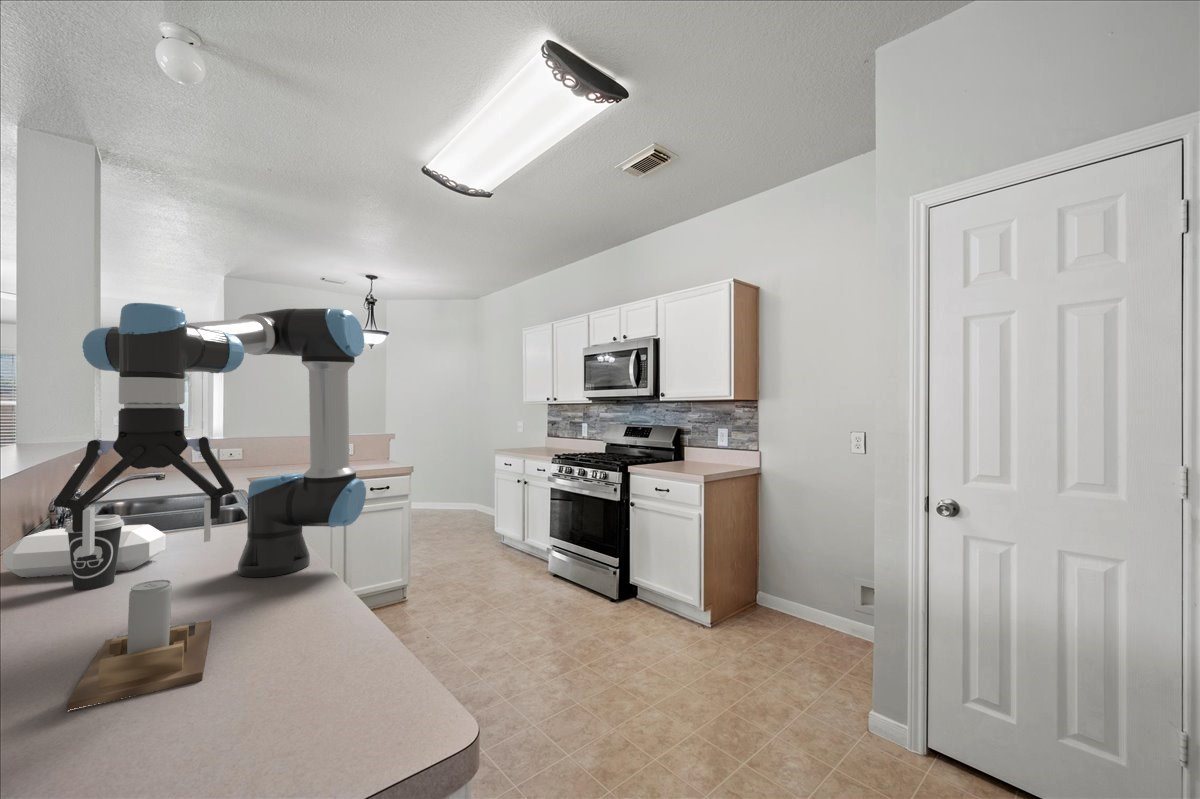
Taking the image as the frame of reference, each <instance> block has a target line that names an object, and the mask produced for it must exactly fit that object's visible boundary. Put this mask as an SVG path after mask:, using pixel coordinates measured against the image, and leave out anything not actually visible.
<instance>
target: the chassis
mask: <svg viewBox="0 0 1200 799" xmlns="http://www.w3.org/2000/svg"><path fill="white" fill-rule="evenodd" d="M211 630H212V620H207V621H201V622H195V621H194V622H188V623H184V624H179V625H173V626H170V635H169V646H165V647H160V648H155V649H150V650H145V651H140V652H135V653H130V654H127V642H128V634H124V635H117V636H116V637H114V638H110V639H105V641H104V642H103V644H102V646H101V647H100V649H99V650H98V652H97V654H96V655H95V657H94V658H93V660H92V661H91V663H90V665H89V667H88V669H87V670H86V672H85V673H84V675H83V676H82V678H81V680H80V681H79V683H78V685H77V686H76V688H75V690H74V691H73V693H72V695H71V696H70V698H68V701H67V702H66V703H67V704H66V711H67V710H70V709H74V708H79V707H83V706H88V705H94V704H98V703H104V702H108V703H111V702H110V701H112V702H115V701H114V700H117V701H119V700H118V699H121V698H125V697H129V696H134V695H138V696H142V695H145V694H150V693H154V691H155V692H158V691H163V690H167V689H171V688H176V687H180V686H184V685H188V684H192V683H193V684H194V683H196V682H201V681H203V678H204V671H205V667H206V666H205V665H206V661H207V660H206V659H207V654H208V648H209V642H210V636H211ZM141 694H142V695H141ZM134 697H135V696H134ZM129 698H130V697H129ZM125 699H126V698H125ZM121 700H122V699H121ZM104 704H105V703H104Z"/></svg>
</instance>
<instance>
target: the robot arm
mask: <svg viewBox="0 0 1200 799" xmlns="http://www.w3.org/2000/svg"><path fill="white" fill-rule="evenodd" d="M364 347H365V335H364V331H363V328H362V325H361V323H360V321H359V320H358V317H357V316H356V315H355V314H354V313H353V312H351V311H350V310H347V309H344V308H343V309H342V308H333V307H332V308H331V307H327V308H283V309H276V310H269V311H264V312H258V313H247V314H244V315H242V316H240V317H239V318H236V319H226V320H211V321H210V320H209V321H195V322H188V321H187V320H186V313H185V311H184V310H183V309H182V308H179V307H177V306H174V305H167V304H162V303H161V304H160V303H150V302H132V303H126V304H125V305H123V306H122V307H121V310H120V317H119V326H109V327H99V328H95V329H93V330H90V331H89V332H87V334H86V335H85V337H84V339H83V341H82V352H83V356H84V358H85V359H86V361H87V362H88V364H90V365H91V366H92V367H94V368H95V369H98V370H101V371H106V372H107V371H108V372H115V373H119V377H118V403H119V404H120V405H123V408H120V409H119V410H118V419H117V420H118V424H117V427H118V429H117V431H118V432H117V437H116V440H115V441H111V440H102V439H99V438H95V439H93V440H89V441H88V442H87V444H86V445H87V446H86V451H85V456H84V457H83V459H82V460H81V462H80V463H79V464H78V466H77V467H76V468H75V470H74V472H73V474H72V475H71V476H70V478H69V479H68V481H67V482H65V485H64V486H63V488H62V489H61V491H60V492H59V494H58V495H57V497H56V498H55V499H54V501H53V506H54V507H56V508H66V509H68V510H69V509H70V510H71V512H72V519H71V520H72V530H73V531H74V533H76V532H83V537H82V556H90V555H91V554H92V553H93V552H94V544H95V516H96V515H95V514H96V506H88V505H89V504H90V503H91V502H92V501H94V499H95V498H97V497H98V496H99V495H100V494H101V493H102V492H104V490H106V489H107V487H108V486H110V485H111V484H112V483H113V482H114V481H115V480H116V479H117V478H119V477H120V476H121V475H122V474H123V473H124V472H125V471H126V470H128V469H129V468H130V467H132V468H134V469H136V470H144V469H148V468H155V469H162V468H163V469H164V468H166V467H169V466H171V465H172V466H173V467H174V468H176V469H177V470H178V471H180V472H181V473H182V474H183V475H184V476H185V477H186V478H187V479H189V480H190V481H191V482H193V484H194V485H196V486H197V487H198V488H199V489H200V490H202V491H203V492H204V493H205V494H206V495H207V496H208V497H205V498H204V504H203V508H204V509H203V510H204V512H203V513H204V515H203V516H204V518H203V523H204V524H203V525H204V526H203V542H204V543H207V542H210V541H211V539H212V520H214V519H219V517H220V515H221V498H222V497H223V496H227V495H228V494H229V495H230V494H232V493H233V492H234V489H235V486H234V484H233V483H232V481H231V479H230V478H229V477H228V474H227V473H226V472H225V470H224V469H223V467H222V465H221V464H220V463H219V461H218V459H217V458H216V456H215V454H214V453H213V451H212V449H211V444H210V438H209V437H208V436H205V435H204V436H201V437H199V438H191V439H189V438H188V439H187V437H186V436H185V410H184V408H182V407H181V406H180V405H183V404H185V399H186V398H185V397H186V396H185V394H186V393H185V391H186V390H185V387H186V386H185V384H186V382H185V381H186V380H185V377H186V376H185V373H187V372H188V373H189V372H191V373H192V372H193V373H194V372H195V373H197V372H199V373H200V372H202V373H203V372H204V373H205V372H206V373H210V374H220V373H221V374H224V373H231V372H233V371H235V370H236V369H237V368H239V367H240V366H241V365H242V363H243V361H244V359H245V354H249V355H253V356H262V355H276V356H277V355H279V356H292V357H293V356H295V357H301V364H302V365H303V366H304V367H305V368H306V369H307V370H308V390H309V391H308V392H309V396H308V397H309V449H310V450H309V452H310V453H309V456H310V467H309V469H307V470H306V471H305V472H304V473H302V472H294V473H285V474H278V475H272V476H266V477H261V478H256V479H253V480H252V481H251V482H250V483H249V485H248V489H247V490H248V493H247V497H246V500H247V526H246V527H247V529H246V530H247V535H246V536H247V537H246V538H247V539H246V543H245V545H244V548H243V550H242V553H241V556H240V558H239V561H238V564H237V574H238V576H241V577H246V578H266V577H273V576H275V577H276V576H279V575H280V576H282V575H285V574H290V573H294V572H297V571H300V570H303V569H304V568H306V567H308V566H309V565H310V563H311V560H310V558H311V555H310V551H309V549H308V546H307V544H306V540H305V537H304V536H303V527H329V528H336V527H346V526H350V525H353V524H354V523H355V522H356V520H358V519H359V517H360V515H361V514H362V511H363V510H364V506H365V503H366V502H365V501H366V496H367V487H366V483H364V480H362V479H360V478H357V469H355V468H354V467H353V466H351V465H350V425H349V424H350V423H349V422H350V421H349V420H350V418H349V416H350V415H349V414H350V413H349V412H350V411H349V409H350V408H349V370H350V369H351V368H352V367H353V366H354V365H355V364H356V362H355V361H356V359H355V358H356V357H358V356H360V355H361V354H362V353H363V351H364ZM188 447H191V448H192V449H193V451H194V452H196V453H198V452H199V453H200V455H201V457H202V458H203V460H204V462H205V464H206V465H207V466H208V468H209V470H210V471H211V473H212V474H213V475H214V476H213V477H215V479H216V481H217V482H218V484H219V485H220V487H219V488H218V487H216V486H215V485H214V484H213V483H212V482H211V481H210V480H208V479H207V478H206V477H205V476H204V475H203V474H201V473H200V472H199V471H198V470H197V469H196V468H194V466H192V465H191V464H190V463H189V462H188V460H186V459H185V458H184V457H183V456H181V455H182V453H183V452H184V451H185V450H186V449H187V448H188ZM110 450H114V451H115V453H117V454H118V455H119V456H120V457H121V458H122V459H120V460H119V461H118V462H116V464H115V465H114V466H113V467H112V468H111V469H110V470H108V472H106V473H105V474H104V475H102V477H101V478H100V479H99V480H97V482H95V484H93V485H92V486H91V487H90V488H89V489H87V490H86V491H85V492H84V493H83V494H82V495H81V496H80V497H78V498H76V497H74V496H75V495H76V493H77V492H78V490H79V489H80V487H81V486H82V485H83V483H84V482H85V480H86V479H87V477H88V476H89V475H90V473H91V471H92V470H93V468H94V467H95V466H96V464H97V462H98V461H99V460H100V458H101V456H104V455H106V454H108V453H109V451H110Z"/></svg>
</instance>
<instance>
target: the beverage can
mask: <svg viewBox="0 0 1200 799" xmlns="http://www.w3.org/2000/svg"><path fill="white" fill-rule="evenodd" d="M171 584H172V581H171V580H168V579H156V580H148V581H144V582H140V583H136V584H134V585H132V586H131V587H130V591H129V596H128V614H127V616H128V617H127V618H128V619H127V635H128V642H127V654H130V653H135V652H140V651H145V650H150V649H155V648H160V647H165V646H169V635H170V627H171V614H172V613H171V609H172V592H173V591H172V585H171Z"/></svg>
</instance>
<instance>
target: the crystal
mask: <svg viewBox="0 0 1200 799" xmlns="http://www.w3.org/2000/svg"><path fill="white" fill-rule="evenodd" d="M65 529H66V528H53V529H52V528H50V529H46V530H42V531H39V532H35V533H32V534H29V535H27V536H23V537H22V538H20V539H19V540H17V541H16V542H14V543H13V544H12V545H9V546H8V547H7V548H5V549H4V550H2V568H4V569H6V570H7V571H10V572H11V573H13V574H14V575H17V576H19V577H20V578H22V577H26V578H36V577H37V576H40V577H52V576H51V575H54V576H64V575H63V574H67V575H72V569H71V559H70V548H69V539H68V532H65ZM166 536H167V534H165V533H164V532H163V531H161V530H159V529H157V528H155V527H154V526H152V525H151V524H128V525H123V526H122V528H121V535H120V542H119V549H118V556H117V563H116V571H115V572H118V571H131V570H133V569H136V568H138V567H140V566H141V565H143V564H146V563H147V562H148V561H151V560H152V559H154V557H156V556H158V555H159V554H160V553H161V552H164V550H166V546H167V544H166V538H167V537H166ZM37 578H38V577H37Z"/></svg>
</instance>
